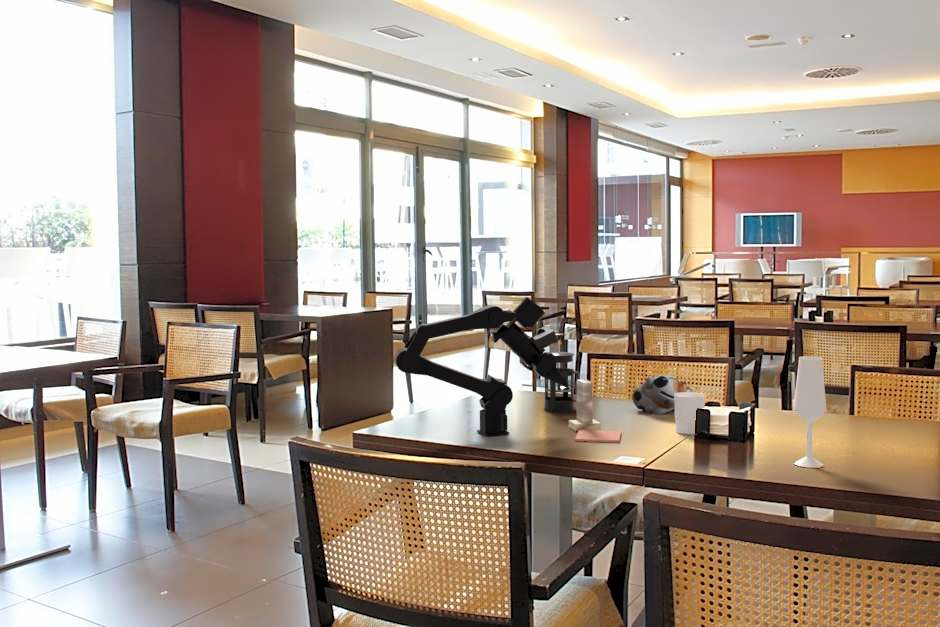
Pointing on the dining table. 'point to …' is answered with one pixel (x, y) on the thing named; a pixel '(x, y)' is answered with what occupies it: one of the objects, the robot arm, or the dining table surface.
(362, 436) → the dining table surface
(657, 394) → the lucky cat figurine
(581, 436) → the terracotta mat
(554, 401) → the french press
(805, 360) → the champagne flute
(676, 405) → the white cup
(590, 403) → the table number stand
